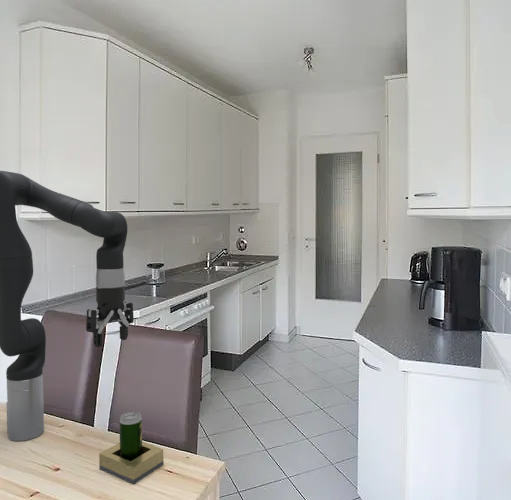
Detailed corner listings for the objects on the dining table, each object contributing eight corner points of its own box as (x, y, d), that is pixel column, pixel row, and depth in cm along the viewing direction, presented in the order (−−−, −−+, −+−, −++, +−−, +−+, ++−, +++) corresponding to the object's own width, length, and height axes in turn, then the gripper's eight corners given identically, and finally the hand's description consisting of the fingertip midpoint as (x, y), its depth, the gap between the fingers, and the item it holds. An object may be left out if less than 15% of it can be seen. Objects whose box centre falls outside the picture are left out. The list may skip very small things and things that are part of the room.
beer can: (123, 470, 108) (122, 422, 107) (117, 460, 112) (116, 414, 111) (145, 464, 110) (144, 417, 110) (138, 454, 115) (137, 409, 114)
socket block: (99, 469, 110) (99, 453, 110) (130, 451, 118) (130, 437, 118) (133, 484, 104) (133, 467, 103) (163, 464, 112) (163, 449, 112)
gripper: (121, 280, 129) (122, 335, 130) (79, 286, 117) (80, 347, 118) (139, 282, 125) (140, 339, 126) (97, 289, 113) (99, 351, 114)
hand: (111, 343), depth 122 cm, fingers open, 8 cm apart
